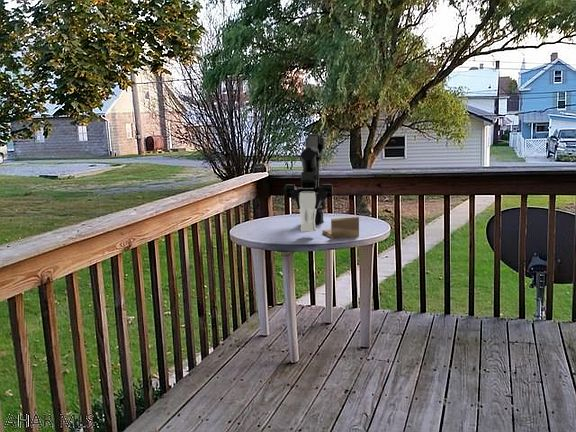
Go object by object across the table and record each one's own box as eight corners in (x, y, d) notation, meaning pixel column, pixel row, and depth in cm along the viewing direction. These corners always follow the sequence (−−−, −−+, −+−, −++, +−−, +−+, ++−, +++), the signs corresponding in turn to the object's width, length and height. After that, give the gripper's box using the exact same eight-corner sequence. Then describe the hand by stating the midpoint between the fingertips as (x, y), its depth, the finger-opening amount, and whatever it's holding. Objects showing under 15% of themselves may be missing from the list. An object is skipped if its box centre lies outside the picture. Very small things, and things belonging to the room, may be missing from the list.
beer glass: (298, 229, 220) (297, 191, 217) (316, 228, 220) (315, 190, 218) (300, 232, 213) (299, 193, 210) (318, 231, 213) (317, 192, 211)
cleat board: (322, 233, 223) (322, 214, 222) (347, 231, 227) (347, 212, 225) (332, 238, 213) (332, 219, 212) (358, 236, 217) (358, 217, 216)
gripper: (284, 164, 217) (281, 196, 208) (332, 163, 214) (331, 196, 206) (287, 181, 226) (284, 213, 217) (333, 180, 224) (332, 213, 215)
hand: (307, 208), depth 214 cm, fingers closed on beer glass, 7 cm apart
